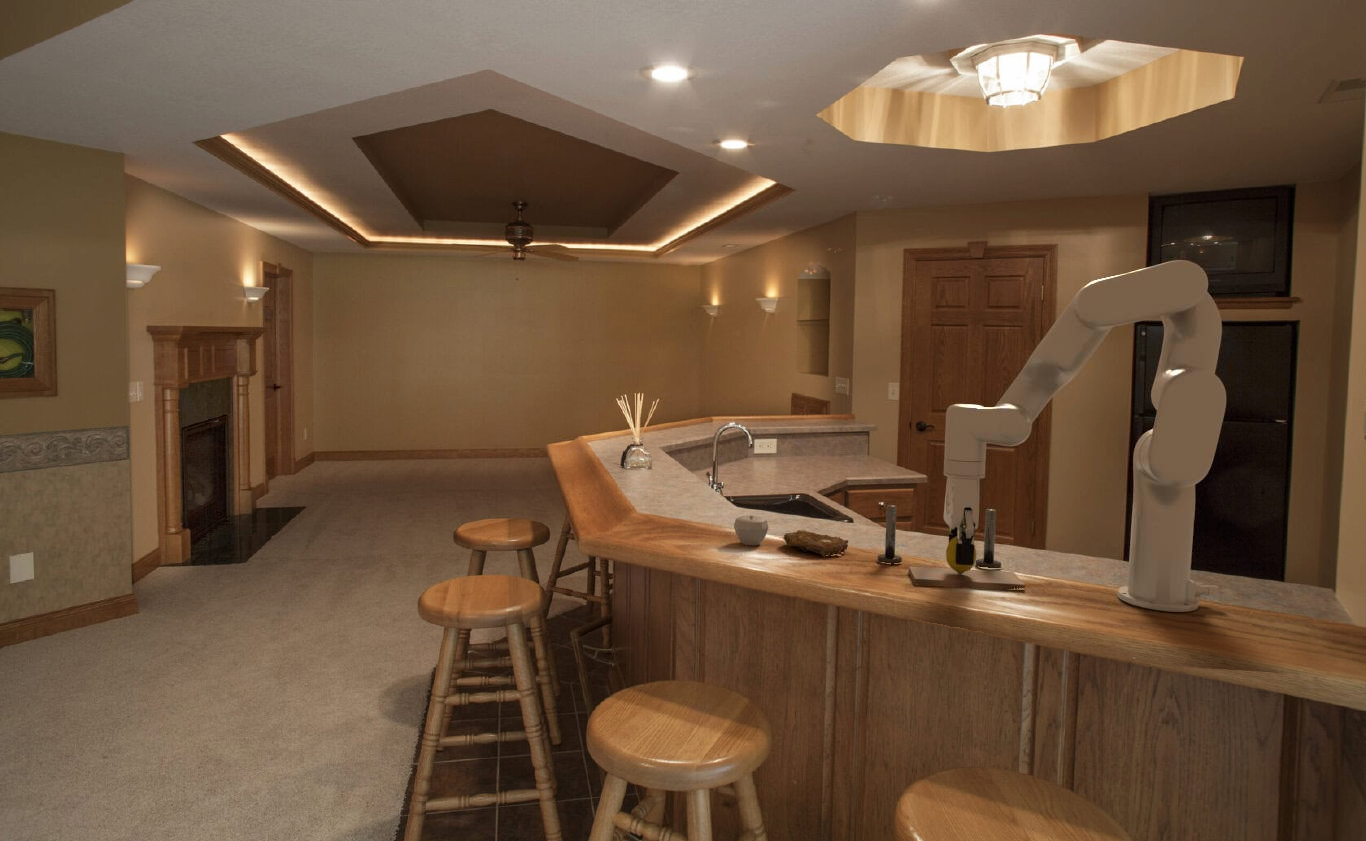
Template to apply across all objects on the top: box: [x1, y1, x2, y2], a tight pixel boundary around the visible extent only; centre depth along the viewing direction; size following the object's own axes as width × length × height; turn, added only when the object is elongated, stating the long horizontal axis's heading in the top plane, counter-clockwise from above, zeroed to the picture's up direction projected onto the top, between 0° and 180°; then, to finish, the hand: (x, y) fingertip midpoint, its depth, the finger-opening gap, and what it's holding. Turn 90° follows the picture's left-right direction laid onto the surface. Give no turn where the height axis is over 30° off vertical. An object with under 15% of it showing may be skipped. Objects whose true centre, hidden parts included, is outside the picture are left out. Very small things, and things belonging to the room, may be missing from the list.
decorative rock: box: [782, 529, 849, 558], centre depth 180 cm, size 11×4×15 cm
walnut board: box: [908, 565, 1026, 590], centre depth 157 cm, size 20×9×1 cm, turn 82°
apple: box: [733, 514, 769, 546], centre depth 185 cm, size 8×8×7 cm
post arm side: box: [975, 508, 1002, 569], centre depth 167 cm, size 5×5×12 cm
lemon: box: [945, 536, 977, 574], centre depth 157 cm, size 6×6×8 cm
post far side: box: [877, 504, 903, 564], centre depth 170 cm, size 5×5×12 cm
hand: (960, 558), depth 157 cm, fingers open, 7 cm apart
